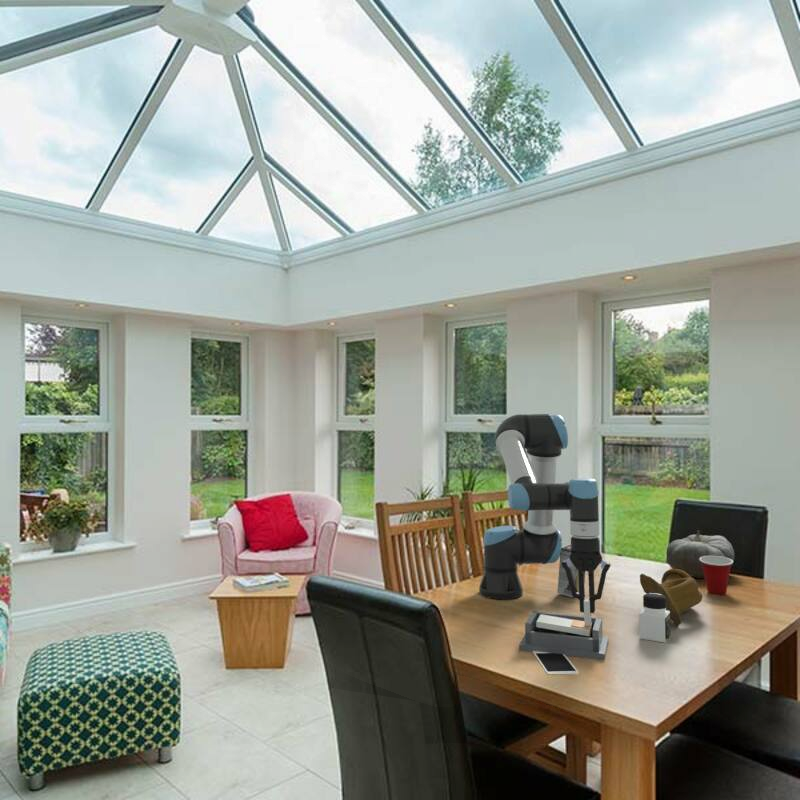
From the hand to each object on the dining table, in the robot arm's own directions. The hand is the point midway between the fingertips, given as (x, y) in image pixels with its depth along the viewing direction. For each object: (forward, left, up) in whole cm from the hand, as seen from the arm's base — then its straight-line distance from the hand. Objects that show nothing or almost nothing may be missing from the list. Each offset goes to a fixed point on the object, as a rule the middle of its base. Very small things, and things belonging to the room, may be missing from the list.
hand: (587, 624), depth 179 cm
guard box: (-6, 0, -7) cm, 9 cm away
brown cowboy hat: (+21, +39, -7) cm, 45 cm away
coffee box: (-11, +55, -6) cm, 57 cm away
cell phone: (-7, -13, -7) cm, 16 cm away
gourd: (+33, +101, -7) cm, 106 cm away
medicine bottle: (+17, +16, -7) cm, 24 cm away
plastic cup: (+37, +73, -7) cm, 82 cm away
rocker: (-6, 0, -2) cm, 6 cm away
